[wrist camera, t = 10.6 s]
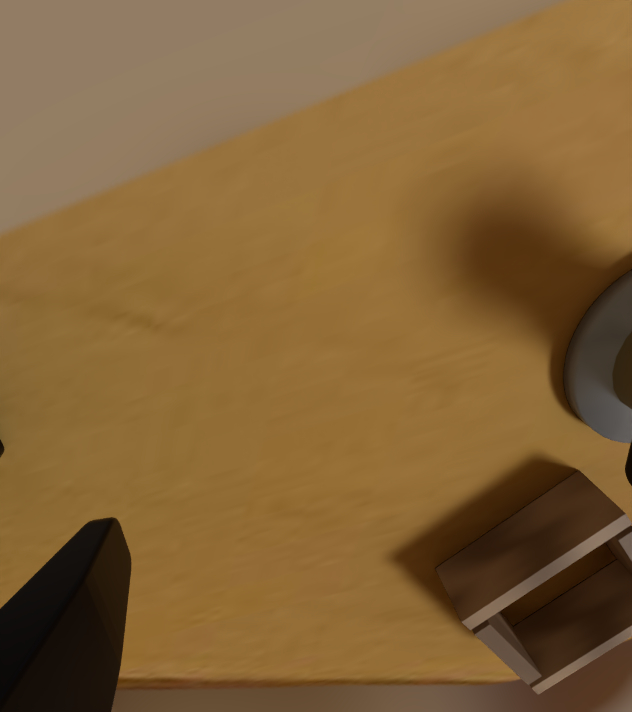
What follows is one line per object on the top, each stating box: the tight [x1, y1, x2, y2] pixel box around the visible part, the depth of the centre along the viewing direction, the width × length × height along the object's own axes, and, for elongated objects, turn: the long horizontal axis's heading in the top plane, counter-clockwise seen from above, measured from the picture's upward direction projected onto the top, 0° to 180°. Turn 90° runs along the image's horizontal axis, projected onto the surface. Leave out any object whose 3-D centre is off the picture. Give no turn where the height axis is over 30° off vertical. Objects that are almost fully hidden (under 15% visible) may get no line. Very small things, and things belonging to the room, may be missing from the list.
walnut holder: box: [435, 471, 632, 694], centre depth 28 cm, size 10×10×4 cm
